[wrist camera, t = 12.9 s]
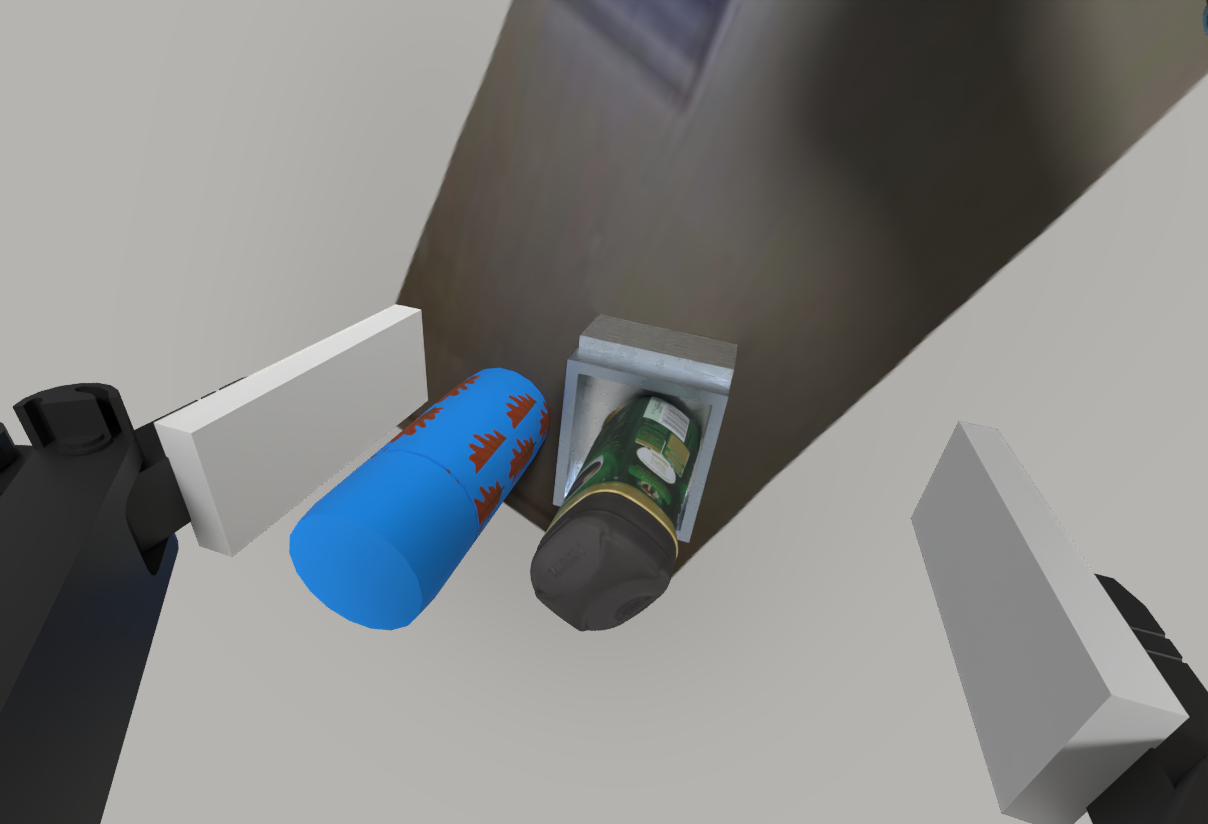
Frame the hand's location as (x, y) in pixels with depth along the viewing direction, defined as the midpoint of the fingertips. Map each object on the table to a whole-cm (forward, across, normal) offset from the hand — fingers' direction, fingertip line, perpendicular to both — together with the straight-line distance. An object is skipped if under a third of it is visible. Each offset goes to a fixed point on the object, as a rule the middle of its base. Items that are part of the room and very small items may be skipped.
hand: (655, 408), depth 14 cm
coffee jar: (+29, -4, -20) cm, 36 cm away
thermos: (+35, -20, -24) cm, 47 cm away
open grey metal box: (+35, -5, -20) cm, 41 cm away
